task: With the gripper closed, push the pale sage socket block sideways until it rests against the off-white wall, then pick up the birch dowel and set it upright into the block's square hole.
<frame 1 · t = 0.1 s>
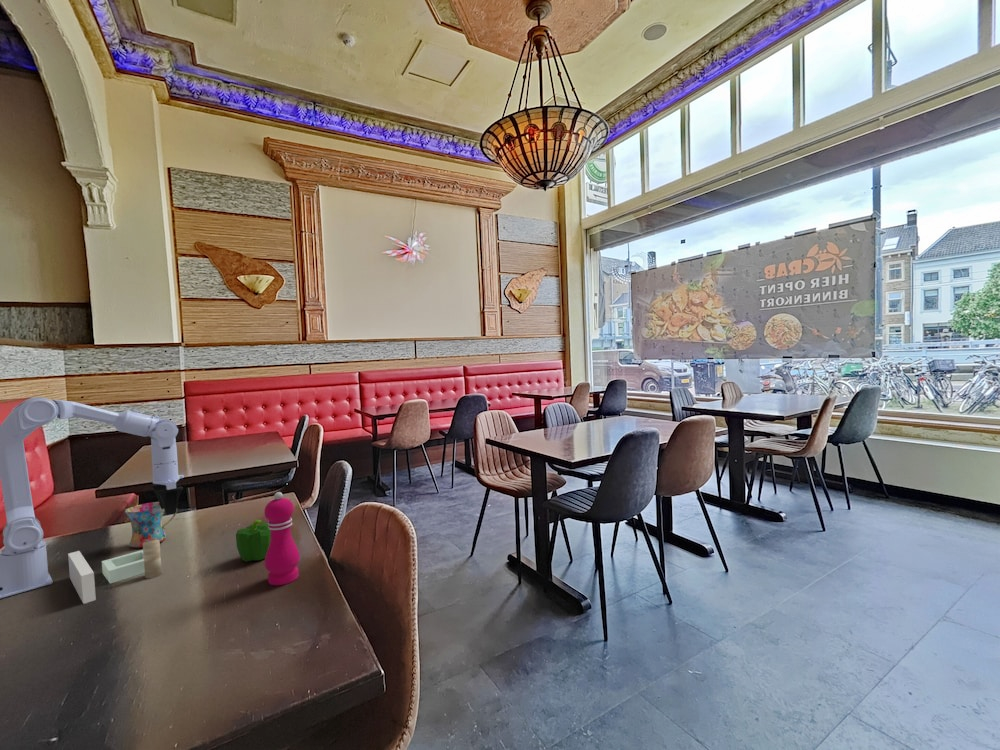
hand: (168, 510, 127), 10 cm above the table, tool pointing down, fingers open, 7 cm apart
mug: (154, 542, 132), on the table
socket block: (130, 571, 113), on the table
wall: (82, 588, 104), on the table
pepper mill: (283, 579, 104), on the table
dowel: (153, 575, 110), on the table
bell pepper: (256, 559, 117), on the table
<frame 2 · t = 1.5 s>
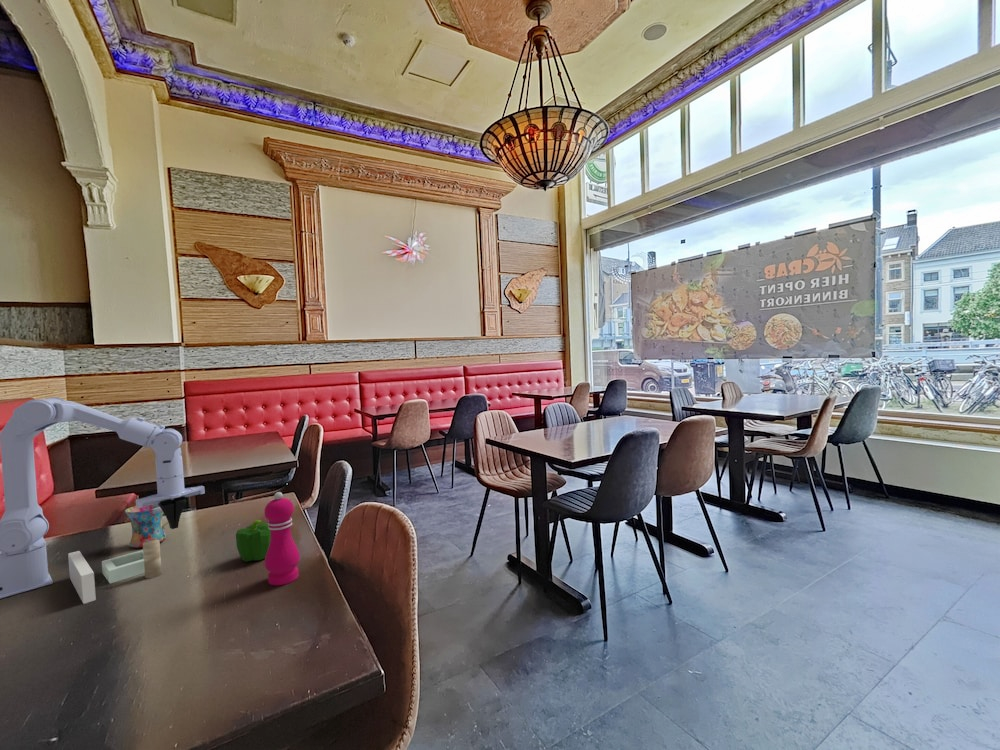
hand: (174, 527, 120), 8 cm above the table, tool pointing down, fingers closed
nothing on the table moved.
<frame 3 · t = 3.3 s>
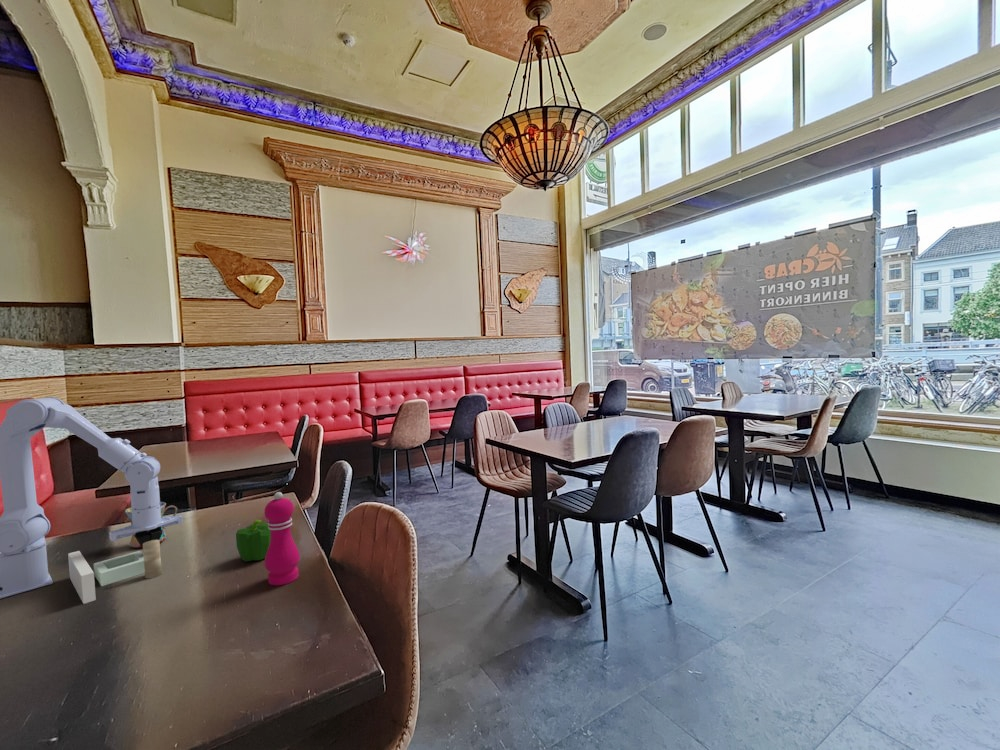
hand: (149, 559, 116), 1 cm above the table, tool pointing down, fingers closed
socket block: (122, 573, 111), on the table, touching gripper
everything else where it was.
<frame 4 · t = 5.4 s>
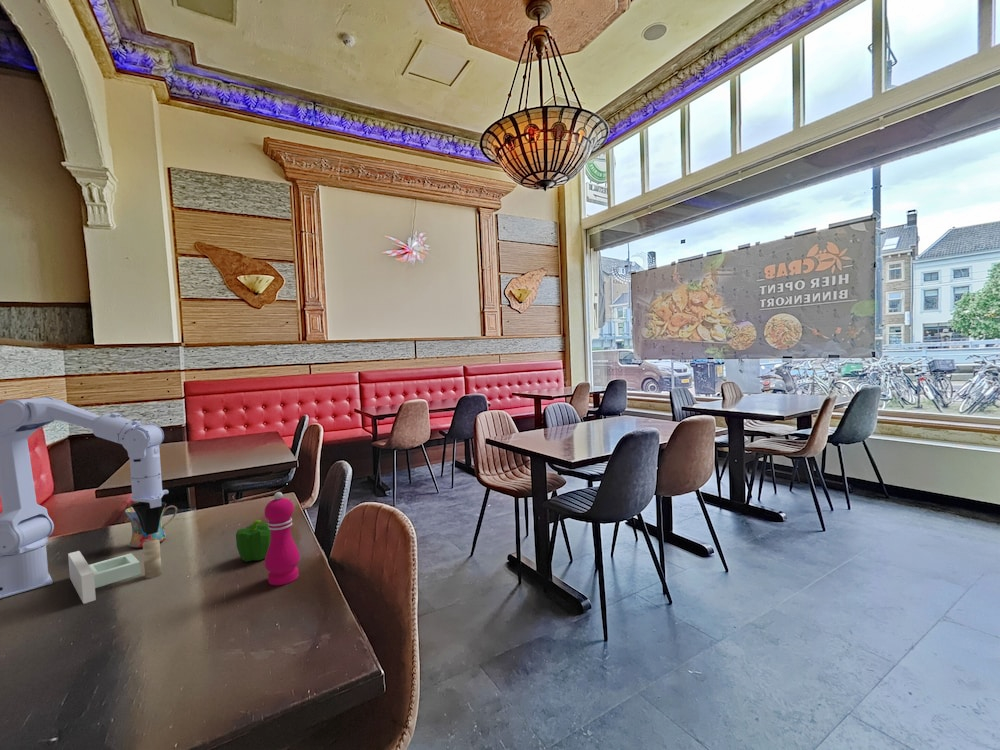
hand: (150, 532, 109), 10 cm above the table, tool pointing down, fingers closed
socket block: (112, 576, 110), on the table
everything else where it was.
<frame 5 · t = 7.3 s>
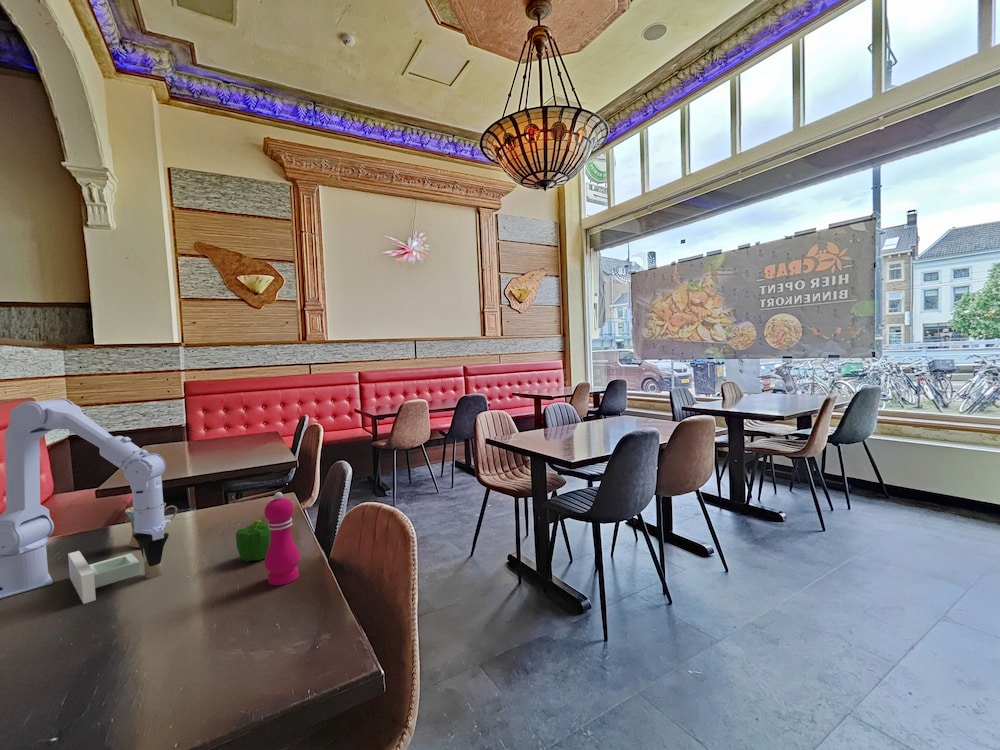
hand: (152, 562, 109), 3 cm above the table, tool pointing down, fingers closed on dowel, 3 cm apart
dowel: (153, 575, 110), on the table, touching gripper
everything else where it was.
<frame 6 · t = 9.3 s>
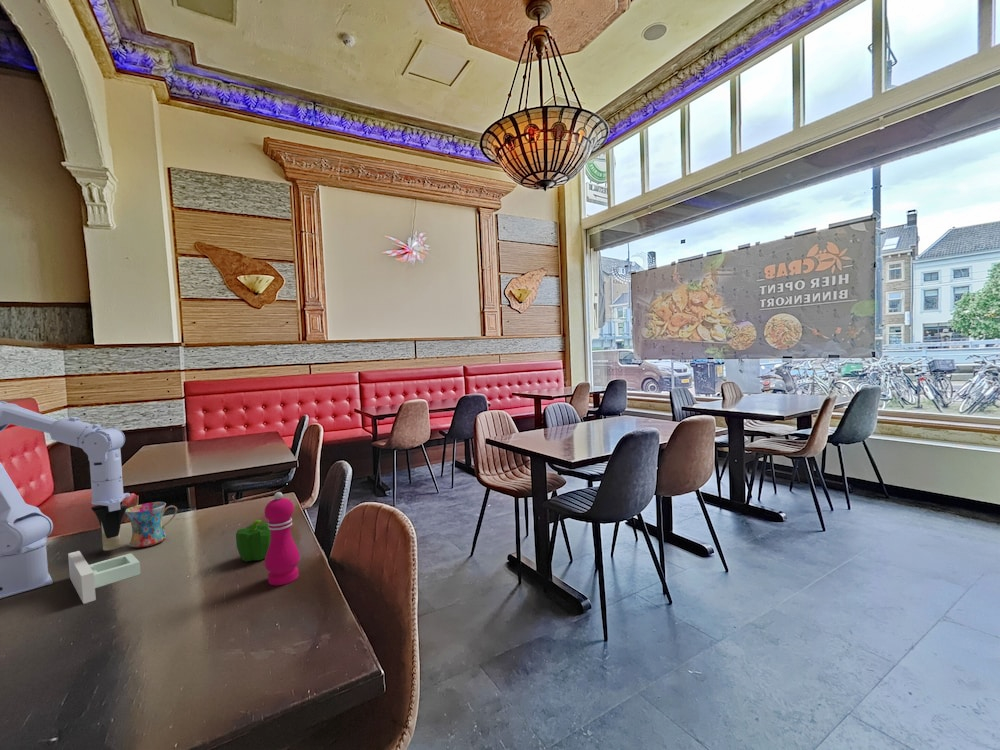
hand: (110, 535, 110), 10 cm above the table, tool pointing down, fingers closed on dowel, 3 cm apart
dowel: (111, 547, 110), point 7 cm above the table, touching gripper
everything else where it was.
when the fingers open (4 cm above the table, at t = 11.1 s): dowel drops 1 cm, resting in socket block.
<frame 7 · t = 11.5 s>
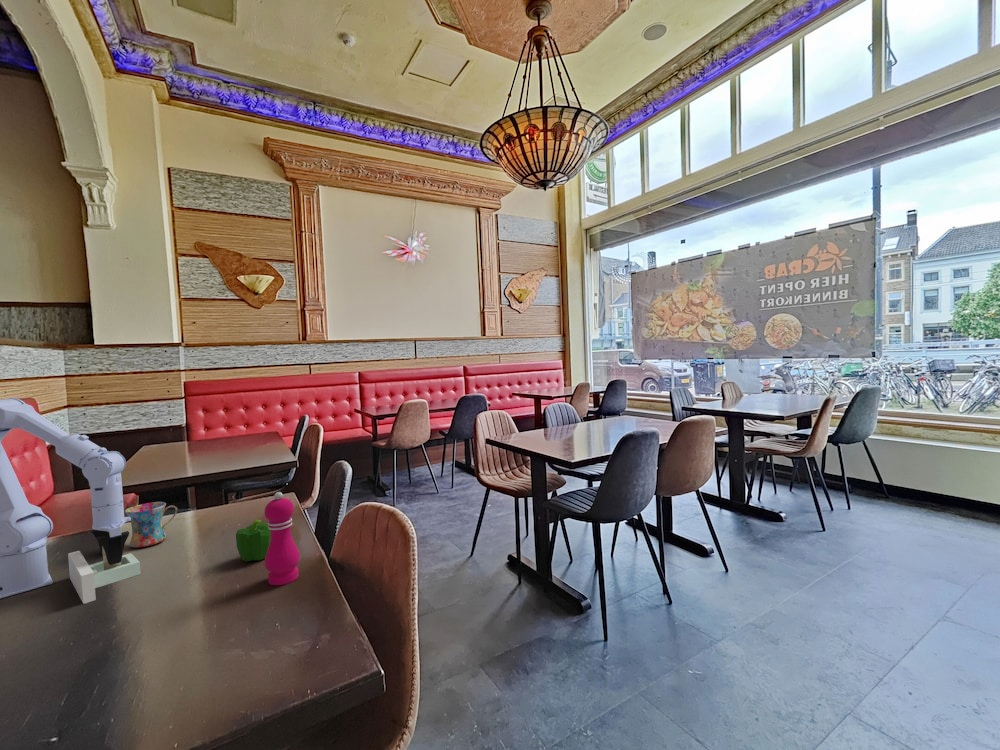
hand: (111, 559, 110), 4 cm above the table, tool pointing down, fingers open, 6 cm apart
dowel: (113, 576, 110), resting in socket block
everything else where it was.
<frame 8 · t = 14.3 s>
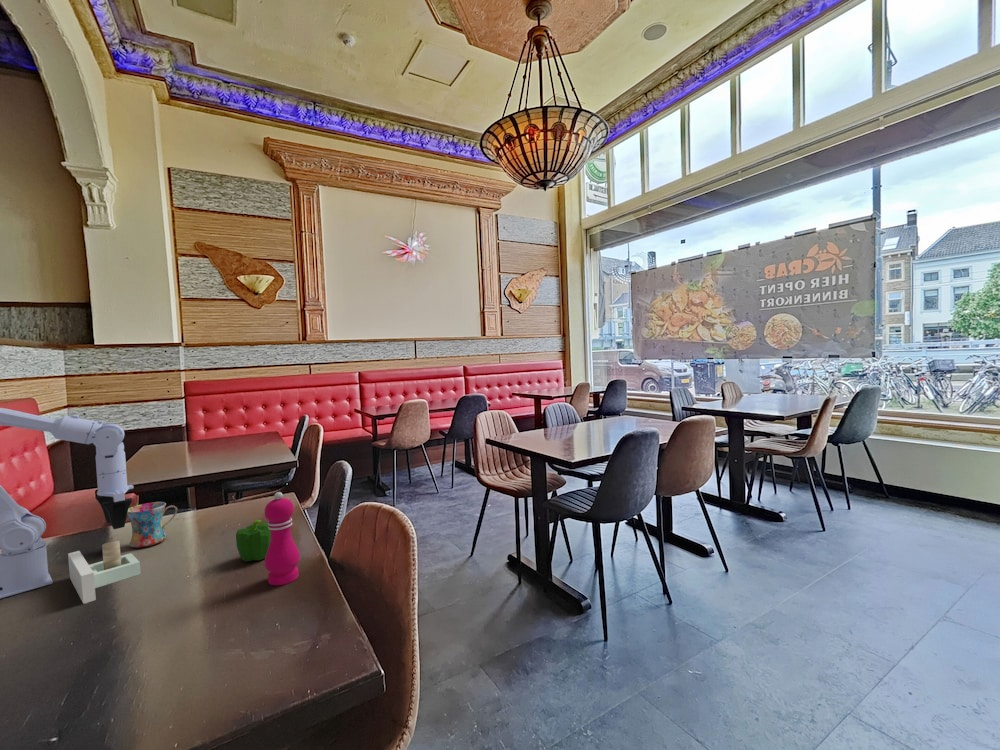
hand: (115, 524, 116), 10 cm above the table, tool pointing down, fingers open, 7 cm apart
nothing on the table moved.
at the end: socket block 0.1 cm from the target spot, on the table; dowel 0.1 cm from the socket block (horizontally); dowel tilted 0° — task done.
